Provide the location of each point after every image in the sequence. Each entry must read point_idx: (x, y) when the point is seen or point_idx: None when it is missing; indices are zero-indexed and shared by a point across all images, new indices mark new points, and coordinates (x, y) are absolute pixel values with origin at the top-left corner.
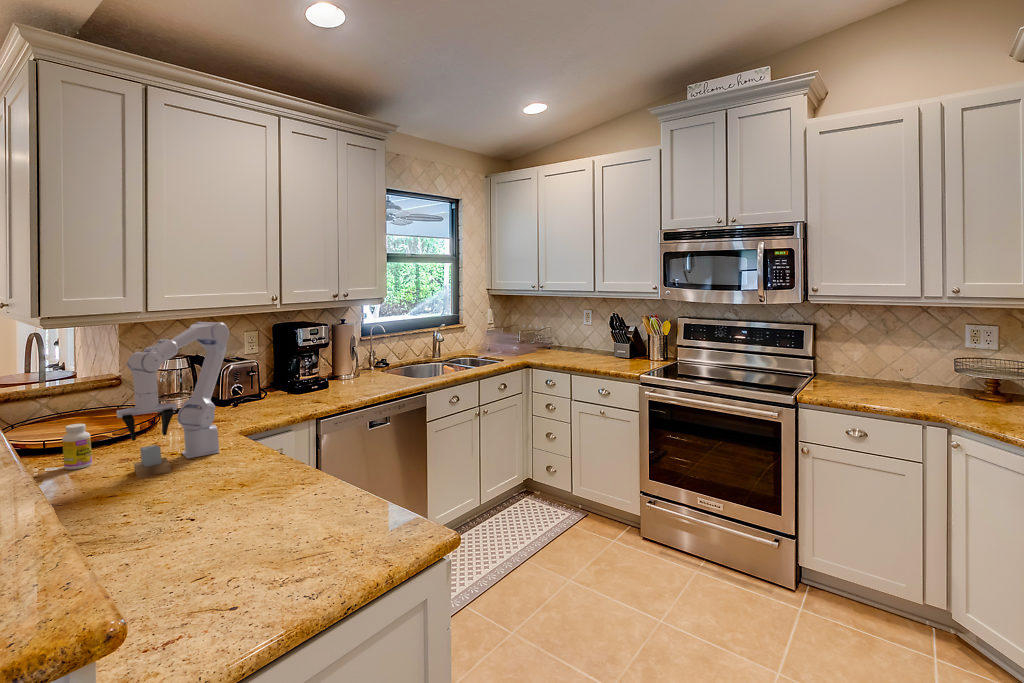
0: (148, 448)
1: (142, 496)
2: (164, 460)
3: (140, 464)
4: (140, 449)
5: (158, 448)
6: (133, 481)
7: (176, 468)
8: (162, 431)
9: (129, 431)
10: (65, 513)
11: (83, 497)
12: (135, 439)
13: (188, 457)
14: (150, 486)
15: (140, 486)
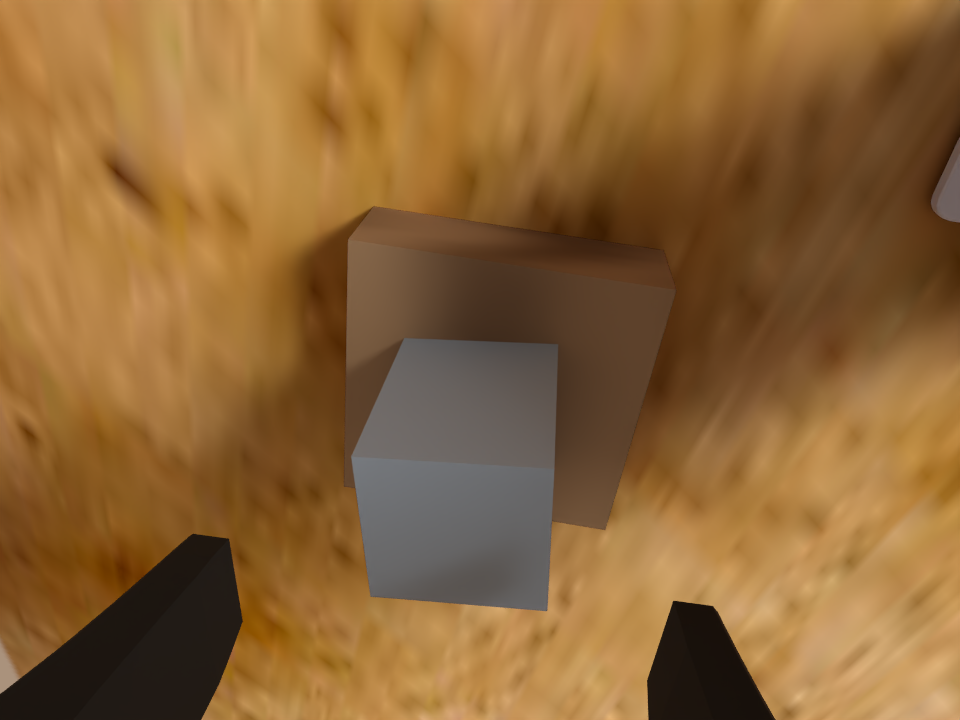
0: (425, 559)
1: (333, 705)
2: (613, 393)
3: (393, 342)
4: (358, 444)
5: (525, 601)
6: (325, 464)
7: (678, 416)
8: (676, 662)
9: (69, 647)
10: (6, 649)
11: (44, 517)
12: (231, 638)
13: (947, 218)
14: (398, 618)
15: (349, 580)
